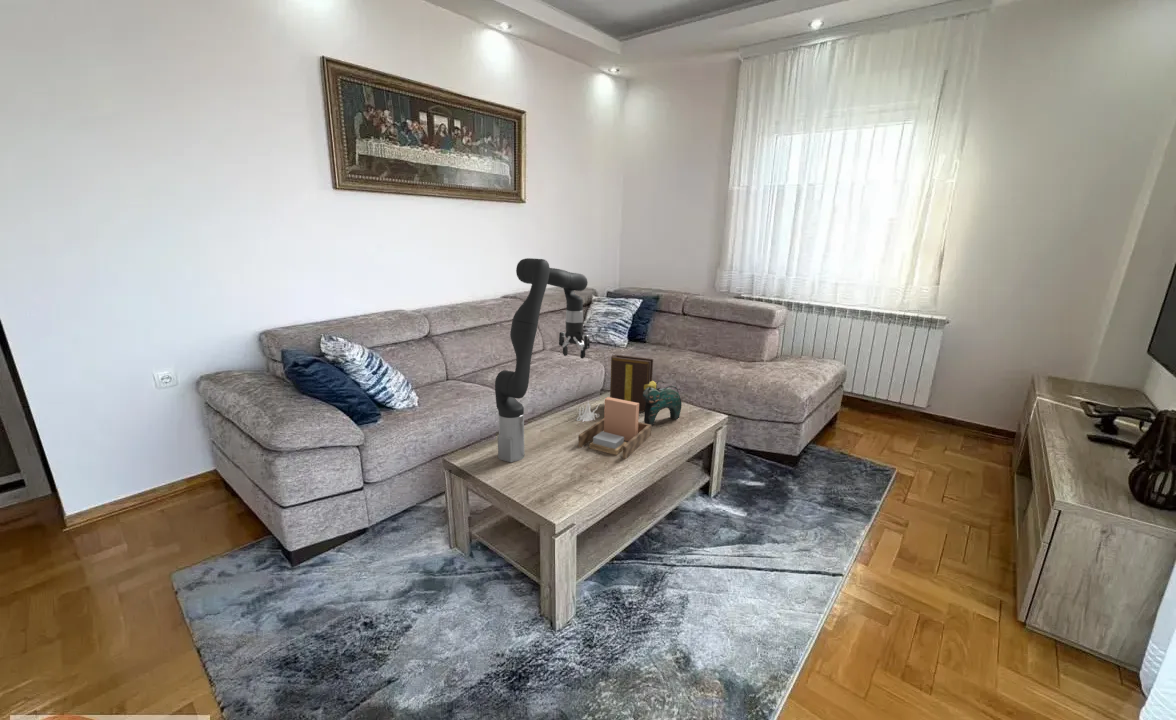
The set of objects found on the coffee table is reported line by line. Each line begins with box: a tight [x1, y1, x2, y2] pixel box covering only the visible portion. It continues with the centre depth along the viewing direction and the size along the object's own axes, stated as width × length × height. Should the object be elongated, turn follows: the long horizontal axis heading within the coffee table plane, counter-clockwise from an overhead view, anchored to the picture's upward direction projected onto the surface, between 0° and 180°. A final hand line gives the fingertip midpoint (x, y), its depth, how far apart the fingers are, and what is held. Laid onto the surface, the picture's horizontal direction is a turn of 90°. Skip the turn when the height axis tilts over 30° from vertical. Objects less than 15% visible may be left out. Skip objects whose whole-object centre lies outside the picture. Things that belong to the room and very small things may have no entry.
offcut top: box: [592, 431, 625, 449], centre depth 193 cm, size 7×10×2 cm
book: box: [609, 354, 657, 412], centre depth 233 cm, size 22×8×25 cm, turn 68°
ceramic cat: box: [643, 379, 683, 426], centre depth 218 cm, size 20×6×20 cm, turn 119°
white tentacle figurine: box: [575, 400, 601, 423], centre depth 222 cm, size 9×12×9 cm
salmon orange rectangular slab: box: [603, 396, 640, 442], centre depth 201 cm, size 3×14×16 cm, turn 61°
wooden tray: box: [577, 417, 653, 460], centre depth 199 cm, size 25×20×5 cm
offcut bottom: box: [589, 441, 628, 456], centre depth 193 cm, size 9×12×2 cm
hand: (573, 356), depth 216 cm, fingers open, 8 cm apart
